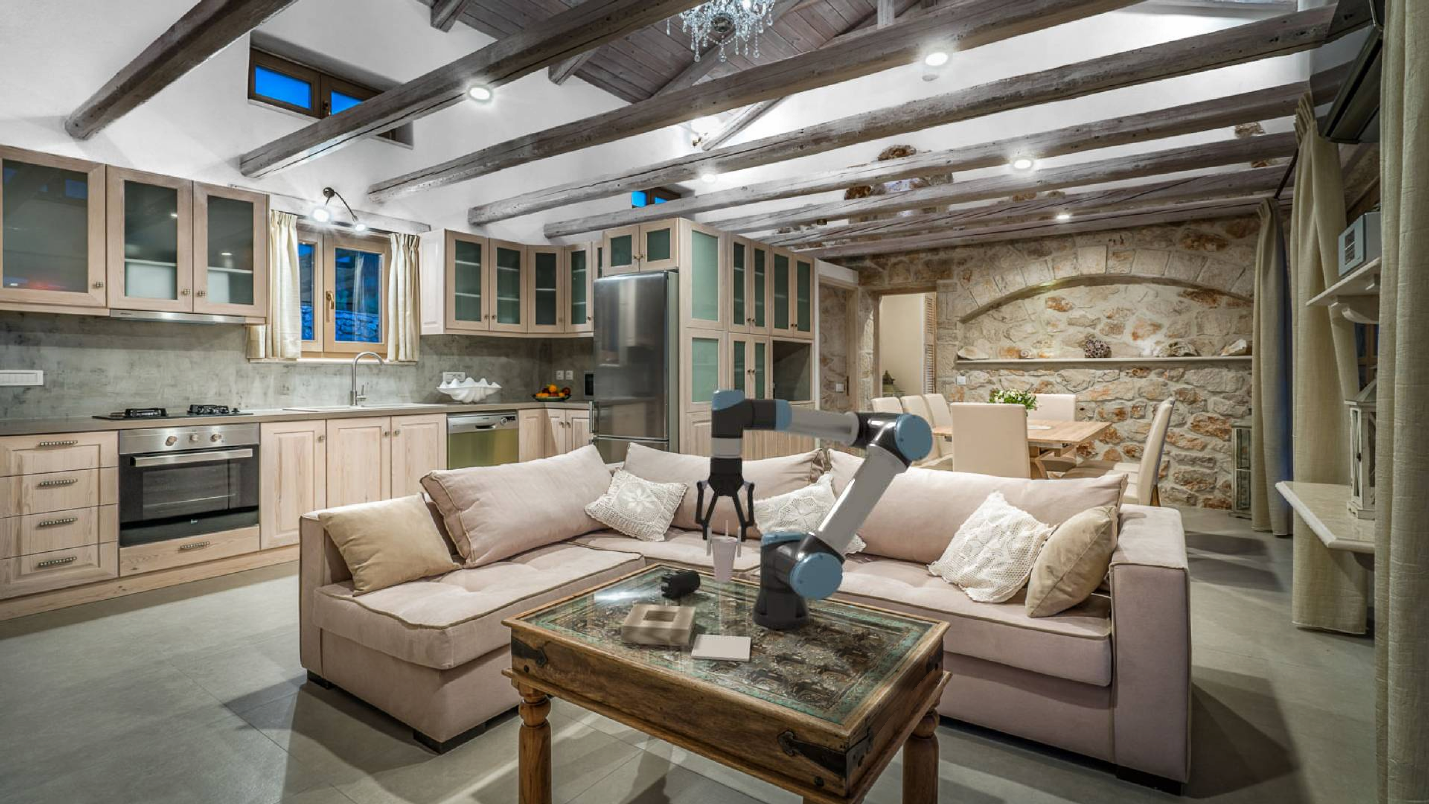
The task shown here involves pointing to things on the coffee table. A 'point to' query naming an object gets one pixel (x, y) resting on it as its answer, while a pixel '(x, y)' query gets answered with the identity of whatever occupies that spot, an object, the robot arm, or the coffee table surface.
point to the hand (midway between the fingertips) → (723, 554)
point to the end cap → (680, 583)
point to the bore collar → (659, 625)
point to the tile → (721, 647)
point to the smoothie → (723, 556)
